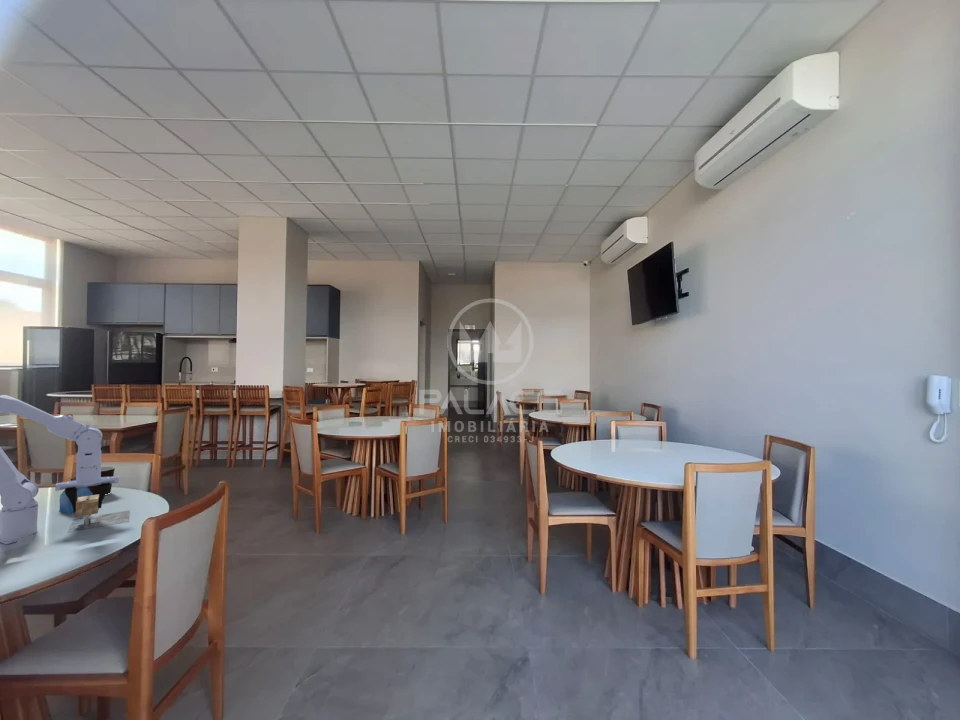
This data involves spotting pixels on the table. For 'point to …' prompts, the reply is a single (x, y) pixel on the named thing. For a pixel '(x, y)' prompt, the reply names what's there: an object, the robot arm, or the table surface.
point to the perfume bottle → (65, 502)
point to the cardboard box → (87, 505)
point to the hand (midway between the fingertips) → (87, 509)
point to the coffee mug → (104, 473)
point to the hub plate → (99, 521)
